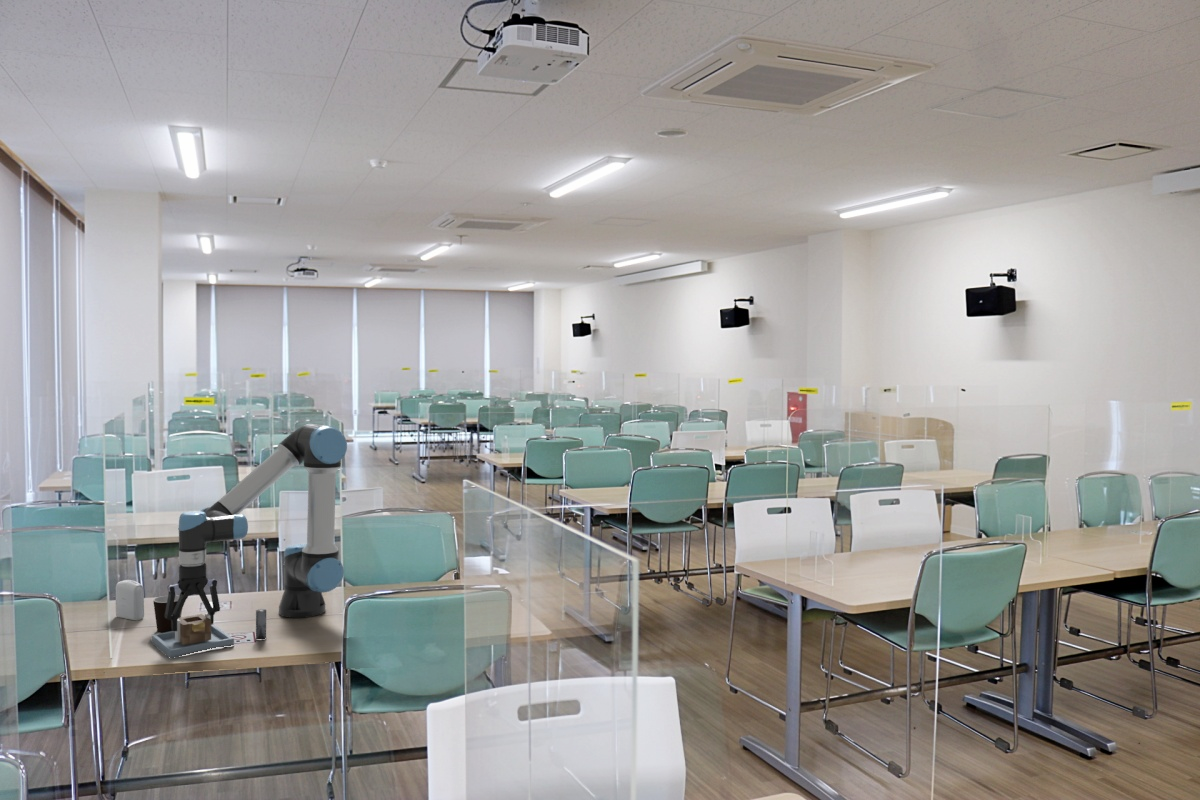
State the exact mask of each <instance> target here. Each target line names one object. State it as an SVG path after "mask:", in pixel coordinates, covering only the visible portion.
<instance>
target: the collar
mask: <svg viewBox="0 0 1200 800" xmlns="http://www.w3.org/2000/svg"><path fill="white" fill-rule="evenodd" d="M178 619H179V620H180V643H181V644H183V645H186V644H191V643H197V642H202V641H207V640H211V620H210V619H209V618H207V617H206V616H205V614H203V613H200V614H194V615H188V616H181V618H178Z"/></svg>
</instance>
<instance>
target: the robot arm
mask: <svg viewBox="0 0 1200 800" xmlns="http://www.w3.org/2000/svg"><path fill="white" fill-rule="evenodd" d="M347 443H348V442H347V439H346V437H345V435H344V434H343V432H342V431H340V430H339V429H337V428H335V427H333V426H331V425H323V424H318V423H307V424H304V425H301V426H299V427H298V428H296V429H295V430H294V431H293V432H291V433H290V434H288V435H287V436H286V437H285V438H284V439H283V440H282V441H280V442H279V443H278V444H277V450H275V451H274V452H272V453H271V455H269V456H268V457H267V458H266V459H265V460H264V461H262V462H261V463H260V464H259V465H258V466H257V467H256V468H254V469H253V470H252V471H250V472H249V473H248V474H247V475H246V476H245V477H244V478H243V479H241V480H240V481H239V482H238V483H237V484H236V485H235V486H233V487H232V488H231V489H230V490H229V491H228V492H226V493H225V494H224V495H223V496H222V497H221V498H220V499H218V500H217V501H216V502H215V503H213V505H211V506H210V507H208V506H207V507H203V508H202V509H200V510H196V511H194V510H193V511H185V512H183V513H181V514H180V515H179V517H178V519H179V520H178V527H177V528H178V564H179V566H178V581H177V582H176V584H168V585H167V591H168V594H167V595H168V599H167V605H166V610H165V618H166V619H168V620H171V625H172V626H171V629H172V630H173V631H175V641H177V642H180V620H179V619H178V617H179V615H180V613H181V610H182V611H183V607H184V605H185V603H186V601H187V599H188V597H189V596H193V595H198V596H199V597H200V599H201V601H202V604H203V605H204V608H205V610H206V612H207V613H204V616H206V617H207V618H209V619H210V620H211V625H212V624H214V622H215V621H214V619H215V617H214V615H215V614H216V613H217V612H220V611H221V606H220V600H219V595H218V591H217V586H218V585H217V584H218V580H216V579H215V578H211V579H208V578H207V564H206V562H207V543H214V542H215V543H216V542H222V541H223V542H225V541H231V540H232V541H235V540H240V539H244V538H245V537H246V536H247V534H248V532H249V523H248V519H247V517H246V516H245V515H244V514H241V513H242V512H243V511H244V510H245V509H246V508H247V507H249V506H250V505H251V504H252V503H253V502H254V501H255V500H257V498H259V497H260V496H261V495H262V494H263V493H264V492H266V491H267V490H268V489H269V488H271V486H272V485H274V484H275V483H276V482H277V481H278V480H280V479H281V477H283V476H284V475H285V474H286V473H287V472H289V470H291V469H292V468H293V467H299V466H300V465H301V464H302V463H303V468H304V469H305V470H306V471H307V472H308V481H307V483H308V485H307V529H306V530H307V532H306V535H307V536H306V543H302V544H301V543H300V544H294V545H289V546H287V547H285V550H284V555H283V561H284V563H283V565H284V567H283V569H284V570H283V571H284V575H283V576H284V578H283V579H284V581H283V583H284V584H283V585H284V587H283V588H284V589H283V594H282V597H281V598H280V603H279V605H278V615H280V616H281V617H285V618H291V619H292V618H293V619H300V618H310V617H315V616H316V617H317V616H320V615H322V614H323V613H324V612H326V602H325V599H324V595H323V593H328V592H331V591H333V590H335V589H336V588H337V587H338V586H339V585H340V584H341V582H342V581H343V579H344V575H345V567H344V565H343V564H342V562H341V561H340V560H339V559H340V557H339V556H340V555H339V553H340V551H339V550H340V549H339V547H338V546H337V545H336V544H335V528H336V527H335V525H336V524H335V519H336V518H335V517H336V481H337V478H336V476H337V474H336V473H337V472H338V471H339V469H341V467H342V459H343V458H344V457H345V455H346V453H347V451H348V444H347ZM207 585H208V587H209V592H210V598H211V603H212V605H211V603H210V601H209V599H208V597H207V594H206V592H205V588H206V586H207ZM178 589H180V593H179V596H180V597H179V599H178V602H177V604H176V606H175V609H174V611H173V605H174V600H175V595H176V593H177V591H178ZM172 611H173V613H172Z"/></svg>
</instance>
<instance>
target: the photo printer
mask: <svg viewBox="0 0 1200 800" xmlns="http://www.w3.org/2000/svg"><path fill="white" fill-rule="evenodd" d="M144 593H145V591H144V586H143V585H142V584H141V583H139V582H137V581H135V580H133V579H132V580H131V579H125V580H124V579H123V580H121V581H118V582H117V583H116V584H115V616H116V617H117V618H121V619H126V620H130V621H139V620H142V619H143V618H144V617H145V594H144Z"/></svg>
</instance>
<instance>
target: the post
mask: <svg viewBox="0 0 1200 800" xmlns="http://www.w3.org/2000/svg"><path fill="white" fill-rule="evenodd" d="M265 638H266V639H267V609H266V608H265V609H264V608H260V609H256V610H255V640H256V639H265Z"/></svg>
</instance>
